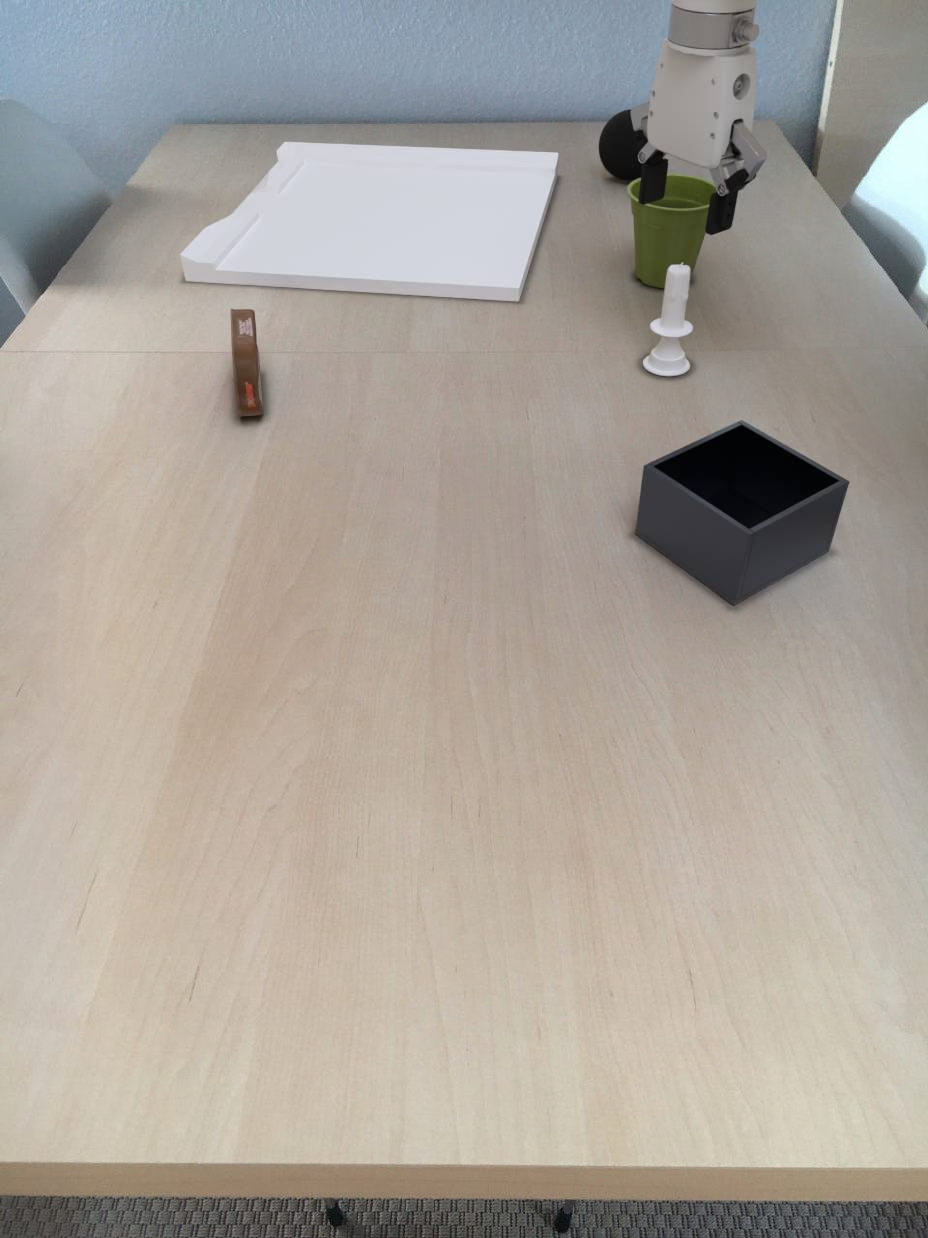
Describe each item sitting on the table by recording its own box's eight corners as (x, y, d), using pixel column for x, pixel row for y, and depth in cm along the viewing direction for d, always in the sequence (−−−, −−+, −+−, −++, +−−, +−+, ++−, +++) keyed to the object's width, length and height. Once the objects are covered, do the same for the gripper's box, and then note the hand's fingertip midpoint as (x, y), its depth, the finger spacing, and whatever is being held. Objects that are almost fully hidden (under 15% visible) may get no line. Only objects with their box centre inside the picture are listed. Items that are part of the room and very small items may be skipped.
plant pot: (626, 299, 126) (635, 209, 118) (612, 260, 134) (620, 174, 127) (718, 296, 126) (733, 206, 118) (699, 257, 135) (712, 171, 127)
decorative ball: (588, 185, 155) (592, 116, 148) (606, 164, 162) (611, 97, 155) (650, 193, 152) (658, 123, 145) (666, 171, 159) (674, 103, 152)
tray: (518, 301, 126) (519, 274, 123) (185, 280, 132) (179, 254, 130) (557, 176, 158) (558, 152, 156) (288, 164, 165) (284, 141, 162)
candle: (670, 349, 116) (684, 249, 108) (699, 369, 113) (715, 266, 104) (633, 361, 114) (644, 259, 106) (661, 381, 111) (674, 278, 103)
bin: (728, 487, 96) (741, 419, 91) (829, 551, 89) (850, 481, 83) (634, 534, 91) (643, 465, 86) (733, 606, 83) (749, 535, 78)
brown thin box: (237, 364, 116) (224, 295, 110) (264, 361, 116) (253, 292, 110) (240, 432, 105) (225, 360, 99) (270, 429, 105) (257, 357, 99)
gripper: (812, 40, 87) (772, 234, 98) (673, 3, 97) (652, 182, 109) (753, 55, 83) (719, 253, 95) (615, 15, 94) (600, 198, 106)
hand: (683, 215), depth 102 cm, fingers open, 9 cm apart
